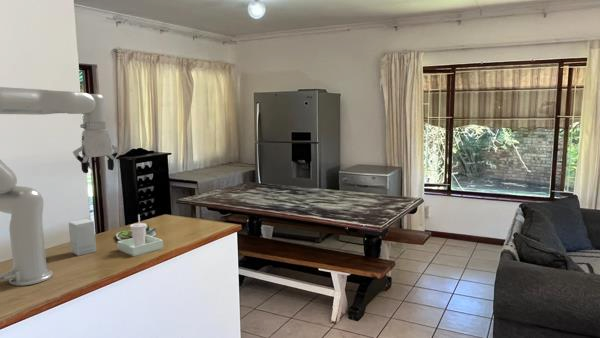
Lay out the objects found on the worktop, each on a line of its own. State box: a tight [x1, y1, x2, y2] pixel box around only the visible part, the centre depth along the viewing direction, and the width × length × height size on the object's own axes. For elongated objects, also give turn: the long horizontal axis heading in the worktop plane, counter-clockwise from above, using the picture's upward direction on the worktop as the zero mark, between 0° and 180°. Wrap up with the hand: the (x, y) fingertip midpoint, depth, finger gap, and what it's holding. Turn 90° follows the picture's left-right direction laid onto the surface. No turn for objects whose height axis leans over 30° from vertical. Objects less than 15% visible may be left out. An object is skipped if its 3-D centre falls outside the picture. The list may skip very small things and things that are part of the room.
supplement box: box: [68, 218, 97, 257], centre depth 178 cm, size 7×7×13 cm
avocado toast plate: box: [115, 223, 157, 241], centre depth 198 cm, size 19×18×5 cm
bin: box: [116, 235, 164, 257], centre depth 181 cm, size 13×13×4 cm
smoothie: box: [129, 214, 147, 247], centre depth 180 cm, size 6×6×14 cm
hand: (98, 171), depth 170 cm, fingers open, 9 cm apart
